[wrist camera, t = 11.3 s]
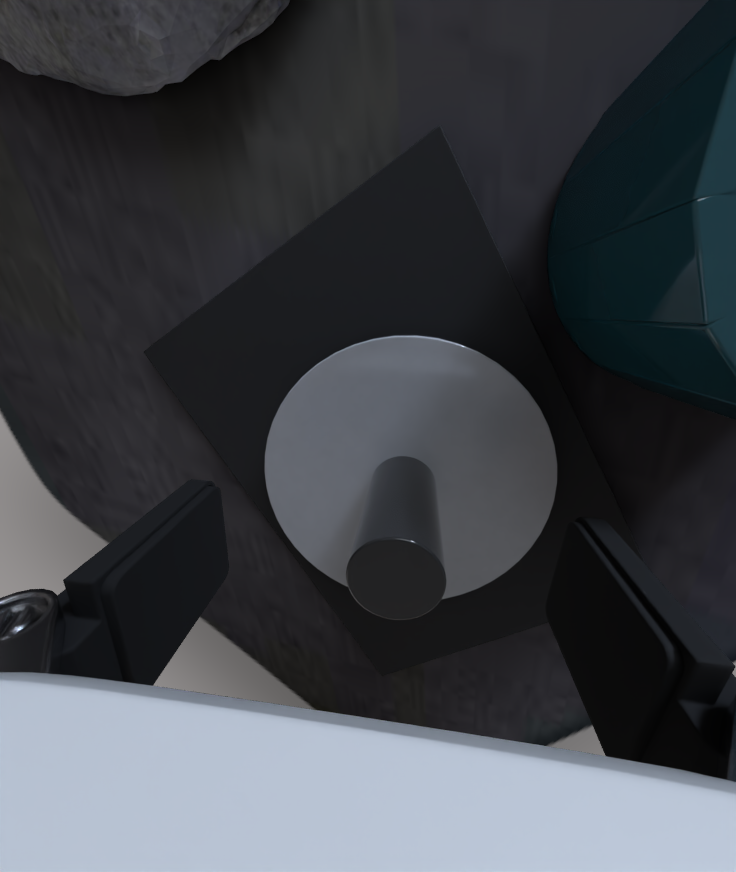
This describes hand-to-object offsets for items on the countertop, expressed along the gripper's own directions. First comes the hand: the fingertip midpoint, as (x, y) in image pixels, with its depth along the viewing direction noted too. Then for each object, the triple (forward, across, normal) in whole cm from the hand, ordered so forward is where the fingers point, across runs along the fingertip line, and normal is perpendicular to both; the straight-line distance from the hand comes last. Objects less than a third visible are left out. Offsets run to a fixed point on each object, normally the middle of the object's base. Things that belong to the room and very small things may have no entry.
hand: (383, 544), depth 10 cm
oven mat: (+7, 0, +1) cm, 7 cm away
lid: (+5, 0, +1) cm, 5 cm away
